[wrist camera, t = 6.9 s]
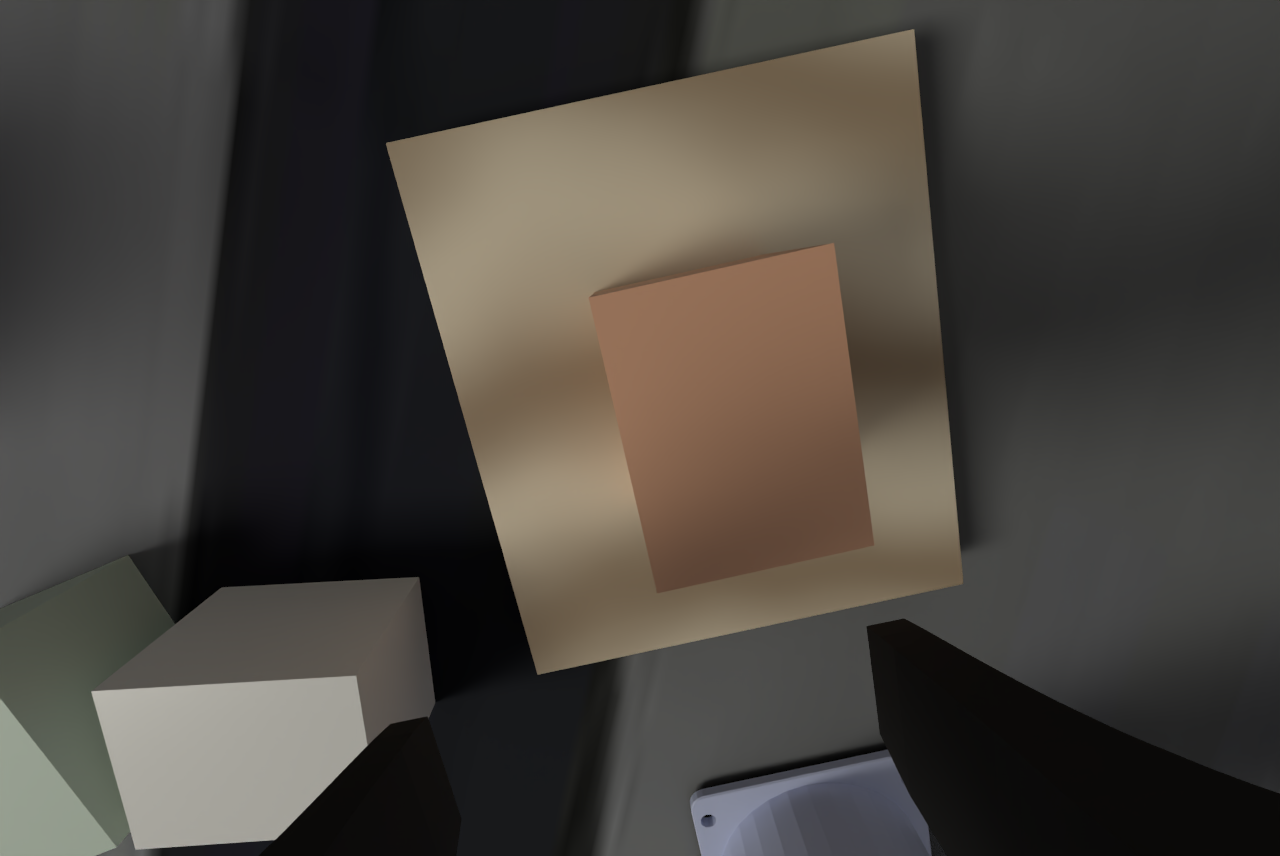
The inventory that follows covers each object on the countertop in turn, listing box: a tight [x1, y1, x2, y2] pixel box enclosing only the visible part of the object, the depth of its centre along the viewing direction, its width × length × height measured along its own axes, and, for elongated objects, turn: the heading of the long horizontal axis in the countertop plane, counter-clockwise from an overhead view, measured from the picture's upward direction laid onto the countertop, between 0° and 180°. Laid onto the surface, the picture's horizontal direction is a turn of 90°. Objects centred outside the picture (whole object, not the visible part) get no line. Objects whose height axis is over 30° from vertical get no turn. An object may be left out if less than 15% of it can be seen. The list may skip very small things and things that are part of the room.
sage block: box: [0, 555, 175, 856], centre depth 17 cm, size 6×4×5 cm
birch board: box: [386, 29, 963, 675], centre depth 17 cm, size 15×13×2 cm
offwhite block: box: [91, 577, 435, 849], centre depth 17 cm, size 6×4×5 cm
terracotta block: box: [589, 243, 874, 593], centre depth 14 cm, size 6×4×5 cm
